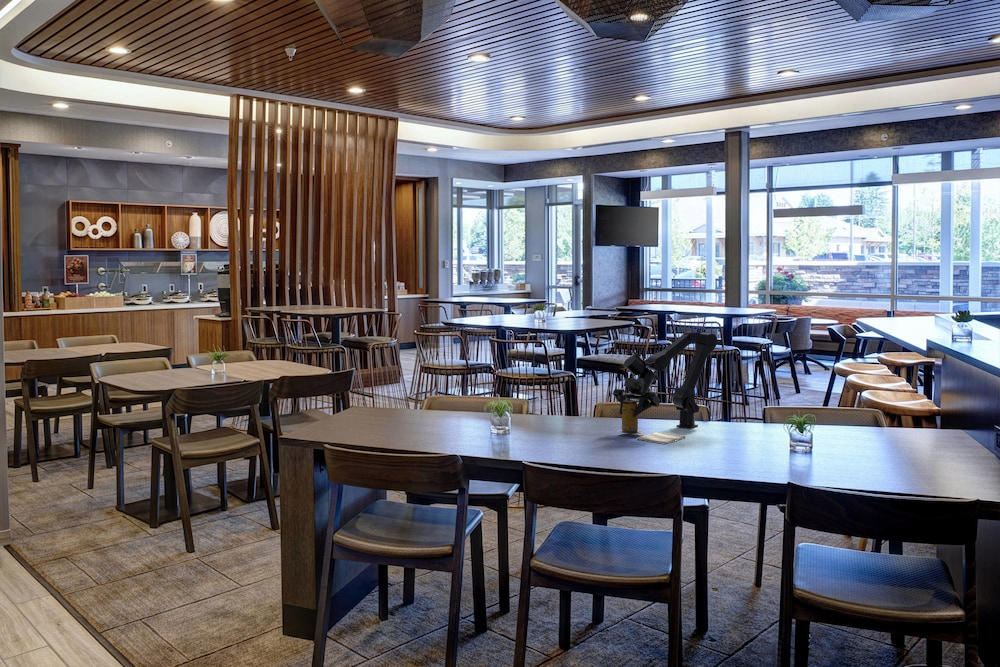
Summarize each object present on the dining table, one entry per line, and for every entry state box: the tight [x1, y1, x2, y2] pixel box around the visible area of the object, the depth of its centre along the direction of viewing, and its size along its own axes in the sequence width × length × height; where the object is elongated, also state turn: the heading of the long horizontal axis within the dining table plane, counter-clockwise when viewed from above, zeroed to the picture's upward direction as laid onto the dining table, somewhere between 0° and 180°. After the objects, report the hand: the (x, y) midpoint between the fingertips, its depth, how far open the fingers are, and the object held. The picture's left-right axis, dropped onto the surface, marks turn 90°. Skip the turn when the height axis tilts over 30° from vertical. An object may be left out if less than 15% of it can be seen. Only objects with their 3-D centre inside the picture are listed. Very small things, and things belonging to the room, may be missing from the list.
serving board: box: [636, 431, 686, 445], centre depth 297 cm, size 14×12×1 cm
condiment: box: [616, 399, 646, 436], centre depth 303 cm, size 7×8×12 cm
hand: (627, 415), depth 303 cm, fingers closed on condiment, 6 cm apart
